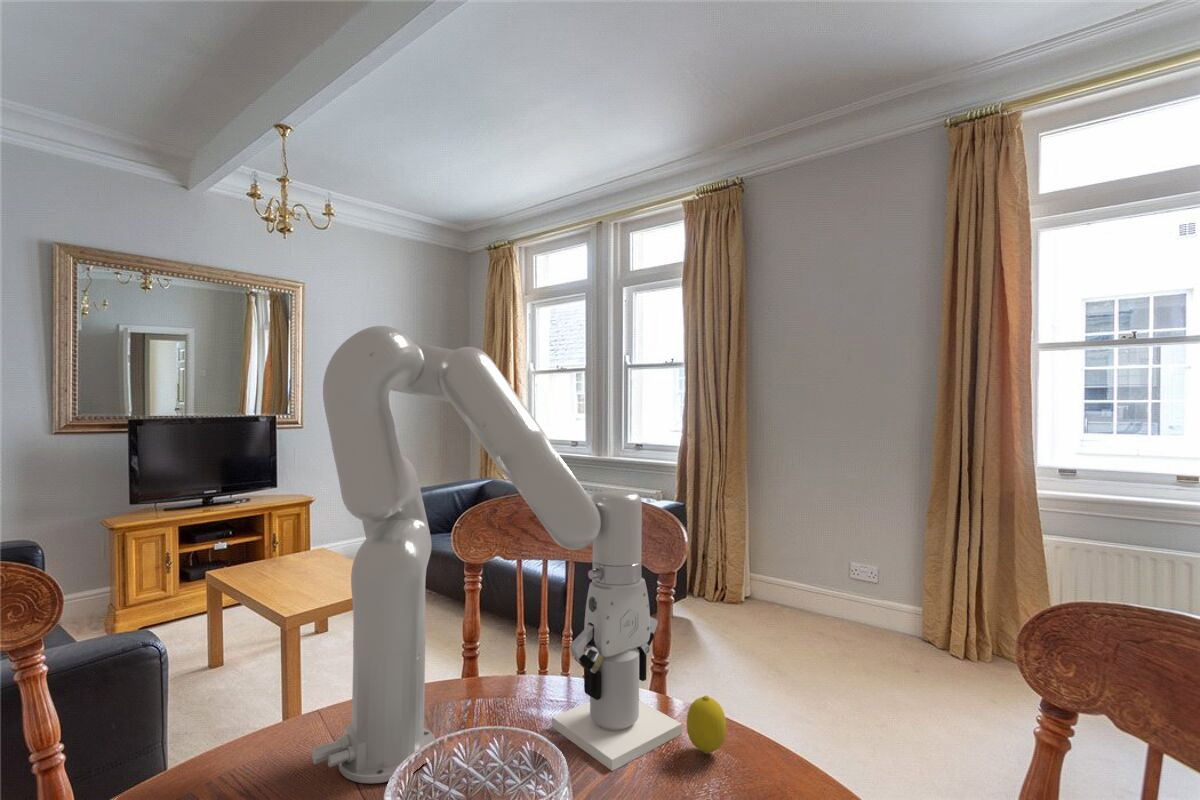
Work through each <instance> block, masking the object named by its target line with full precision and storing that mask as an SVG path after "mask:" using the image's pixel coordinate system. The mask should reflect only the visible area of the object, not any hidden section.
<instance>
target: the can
mask: <svg viewBox="0 0 1200 800" xmlns="http://www.w3.org/2000/svg"><path fill="white" fill-rule="evenodd" d="M631 648H632V647H629V648H626V649H624V650H628V649H631ZM596 654H597V653H595V652H594V654H593V657H592V659H591V660H592V661H593V660H594V658H595V656H596ZM598 671H600V672H601V698H600V699H599V700H596V699H594V698H592V697H591V696H589V700H590V717H591V719H592V720H593V721H594V722H595V723H596V724H597V725H598V726H599V727H601V728H603V729H606V730H611V731H619V730H624V729H627V728H629V727H630V726H632V724H633V723H634V722H636V721H637V719H638V717H639V700H640V680H639V650H638V649H637V648H635V649H631V650H628V651H625V652H623V653H621V654H618V655H615V656H612V657H604V658H603V661H602V663H601V665H600V667H599V669H598Z"/></svg>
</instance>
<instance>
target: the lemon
mask: <svg viewBox="0 0 1200 800" xmlns="http://www.w3.org/2000/svg"><path fill="white" fill-rule="evenodd" d="M686 732H687V734H688V738H689V740H690V742H691V743H692V745H693V746H694V747H695V748H696V749H698V750H699V751H702V752H703V753H704V754H706V755H708V754H710V753H711V752H712V753H713V752H714V751H717V750H718V749H720V748H721V746H722V745H723V743H724V742H725V739H726V736H727V735H726V734H727V720H726V716H725V712H724V710H723V707H722V706H721V705H720V703H719V702H718V701H717V700H715V699H714V698H712V697H710V696H709V695H703V696H700V697H698V698H696V699H695V700H694V701H693V702H692V703H691V704H690V706H689V708H688V712H687V715H686Z"/></svg>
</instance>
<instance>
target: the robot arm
mask: <svg viewBox="0 0 1200 800" xmlns="http://www.w3.org/2000/svg"><path fill="white" fill-rule="evenodd" d="M322 383H323V384H322V399H323V408H324V413H325V417H326V421H327V427H328V432H329V435H330V442H331V443H330V444H331V449H332V452H333V459H334V461H335V462H334V463H335V467H336V473H337V477H338V482H339V488H340V494H341V498H342V502H343V505H344V506H345V509H346V510H347V511H348V512H349V514H351V515H352V516H354V518H356V519H358V520H361V523H362V526H363V530H364V534H365V535H364V536H365V540H363V542H362V544H361V545H360V546H359V548H358V549H357V552H356V553H355V554H356V555H355V556H354V559H353V563H352V568H351V573H350V574H351V575H350V576H351V577H350V586H351V587H350V588H351V599H352V617H353V618H352V620H353V622H352V623H353V626H352V629H353V634H352V635H353V636H352V637H353V639H352V644H353V645H352V650H353V652H352V695H351V696H352V697H351V698H352V699H351V703H352V704H351V708H352V709H351V724H349V725H346V726H345V727H344V735H341V736H338V738H337V739H336V740H335V741H332V742H329V743H324V744H321V745H318V746H315V747H313V748H312V752H311V753H312V755H311V756H312V762H313V764H314V765H316V764H320V763H323V762H325V761H327V765H328V768H332V767H335V766H338V771H339V772H340V773H341V775H342V776H343V777H345V778H346V779H348V780H350V781H353V782H355V783H360V784H382V783H387V781H388V779H389V778H390V776H391V775H392V773H393V772H394V771H395V769H396V767H397V766H398V765H399V764H400V763H401V762H402V761H403V760H405V759H406V758H407V757H408V756H409V755H411V754H412V753H413V752H415V751H416V750H418V749H419V748H421V747H422V746H424V745H426V744H428V743H430V742H432V741H434V740H435V741H436V739H435V736H434V734H433V732H432V731H430V730H429V729H428V728H426V727H425V687H426V685H425V684H426V679H425V677H426V674H425V673H426V576H427V569H428V568H427V567H428V564H429V561H430V558H431V554H432V546H433V544H432V537H431V533H430V532H431V530H430V526H429V523H428V522H429V521H428V518H427V513H426V508H425V503H424V499H423V494H422V490H421V486H420V482H419V481H420V480H419V477H418V473H417V471H416V469H415V467H414V465H413V464H412V462H411V461H410V460H409V459H408V458H407V457H406V456H404V455H402V454H401V453H402V452H401V450H400V447H399V442H398V438H397V434H396V433H397V432H396V427H395V421H394V417H393V414H392V411H391V406H390V393H391V391H394V392H398V393H403V394H409V395H414V396H418V397H422V398H427V399H432V400H438V401H441V402H442V401H443V402H448V403H451V405H452V406H453V407H454V409H455V411H456V412H457V414H459V416H460V417H461V418H462V420H463V421H464V422H465V424H466V425H467V427H468V428H469V430H470V431H471V432H472V433H473V435H474V436H475V437H476V439H477V440H478V442H479V444H480V445H481V446H482V448H483V449H484V450H485V451H486V453H487V454H488V456H489V457H490V459H491V460H492V461H493V462H494V464H495V465H496V467H497V468H498V469H499V471H501V472H502V474H503V475H504V476H506V478H507V479H509V481H510V483H512V485H513V486H514V487H515V489H516V490H517V491H518V493H519V494H520V495H521V497H522V498H523V500H524V501H525V503H526V504H527V505H528V506H529V508H530V509H531V511H532V512H533V514H534V515H535V516H536V517H537V519H538V520H539V522H540V524H542V525H543V527H544V528H545V530H546V532H547V533H548V535H549V536H550V537H551V538H552V540H553V542H555V543H556V544H557V545H559V546H560V547H562V548H564V549H565V550H566V549H567V550H573V551H576V550H582V549H585V548H587V547H588V546H591V545H592V569H590V570H589V571H588V572H587V577H588V578H589V580H592V581H591V582H590V583H589V587H588V592H587V596H586V603H585V611H584V612H585V614H584V615H585V616H584V629H583V630H582V631H581V633H580V634H578V636H577V637H575V639H574V640H572V642H571V643H570V645H569V649H570V651H571V653H572V655H573V657H574V660H575V662H577V663H578V664H580V667H581V668H583V669H584V671H583V690H584V691H583V692H584V693H585V694H586V695H588V696H589V697H590V696H591V697H592V698H594V699H596V700H599V699H600V698H601V672H600V671H598V669H599V667H600V665H601V663H602V661H603V658H604V657H612V656H615V655H618V654H621V653H623V652H625V651H628V650H631V649H635V648H637V649H638V650H639V681H641V682H645V681H647V654H649V653H650V650H651V648H650V646H651V643H652V642H653V640H654V638H655V634H654V633H655V632H656V630H657V627H658V624H659V621H658V620H657V618H655V617H652V616H651V614H650V612H651V611H650V602H649V595H648V594H649V593H648V588H647V584H646V580H645V578H643V577H642V548H643V547H642V546H643V545H642V543H643V541H642V535H643V534H642V532H643V531H642V530H643V529H642V528H643V526H642V525H643V524H642V523H643V521H642V520H643V519H642V517H643V515H642V514H643V510H642V509H643V505H642V501H643V500H642V498H641V496H640V495H639V494H638V493H637V492H634V491H630V490H623V489H617V490H616V489H615V490H614V489H613V490H611V489H610V490H602V491H600V492H599V491H589V490H585V489H584V487H583V486H582V485H581V483H580V481H579V480H578V479H577V477H576V476H575V475H574V473H573V472H572V470H571V469H570V468H569V466H568V465H567V463H565V461H564V459H563V458H562V457H561V455H560V454H559V452H558V451H557V450H556V448H555V447H554V446H553V444H552V443H551V441H550V440H549V437H548V436H547V434H545V432H544V430H543V429H542V428H541V426H540V425H539V423H538V422H537V420H536V419H535V417H534V416H533V415H532V414H531V413H530V410H529V409H528V408H527V407H526V405H525V404H524V403H523V401H522V400H521V399H520V397H519V395H518V394H517V393H516V392H515V390H514V389H513V387H512V386H511V385H510V383H509V382H508V380H507V379H506V377H505V376H504V375H503V373H502V372H501V370H500V369H499V367H498V366H497V365H496V364H495V362H494V361H493V360H492V358H491V357H490V356H489V355H488V354H487V353H486V352H485V351H483V350H481V349H479V348H477V347H473V346H462V347H459V348H456V349H449V348H445V347H439V346H435V345H432V344H428V343H427V344H426V343H424V342H418V341H416V340H411V338H410V337H409V336H408V335H407V334H406V333H404V332H402V331H401V330H399V329H397V328H394V327H391V326H387V325H375V326H374V325H373V326H371V327H366V328H363V329H361V330H360V331H357V332H356V333H355V334H353V335H351V336H350V337H348V338H347V339H346V340H345V341H344V342H343V343H342V344H341V345H340V346H338V348H337V349H336V350H335V352H334V353H333V354H332V356H331V358H330V360H329V362H328V364H327V366H326V369H325V372H324V376H323V382H322ZM629 647H632V648H631V649H628V650H624V649H626V648H629ZM585 648H586V650H585ZM594 652H595V653H597V654H596V656H595V658H594V660H593V661H592V660H591V659H592V657H593V654H594ZM388 782H389V781H388Z"/></svg>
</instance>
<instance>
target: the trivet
mask: <svg viewBox="0 0 1200 800" xmlns="http://www.w3.org/2000/svg"><path fill="white" fill-rule="evenodd" d="M551 728H553V729H554V730H555V731H557V732H558V733H559V734H561V735H562V736H564V737H565V738H567V739H568V740H570V741H571V742H572V743H573V744H574V745H576V746H577V747H579V748H580V749H581V750H583V752H586V753H587V754H588V755H589V756H591V757H592V758H594V759H595V760H596V761H598V762H599V763H601V764H602V765H603V766H604V767H606V768H607V769H609V770H610V771H612V772H613V771H615V770H617V769H619V768H621V767H622V766H624V765H626V764H628V763H630V762H632V761H634V760H636V759H638V758H639V757H642V756H643V755H645V754H647V753H649V752H651V751H653V750H655V749H656V748H658V747H660V746H662V745H663V744H666V743H667V742H670V741H671V740H673V739H675V738H677V737H679V736H681V735H682V733H683V723H681V722H680V721H678V720H676V719H674V718H672V717H670V716H668V715H667V714H665V713H664V712H661V711H659V710H658V709H656V708H654V707H652V706H651V705H649V704H647V703H645V702H644V701H642V700H640V699H639V717H638V719H637V721H636V722H634V723H633V724H632V726H630V727H629V728H627V729H624V730H619V731H611V730H606V729H603V728H601V727H599V726H598V725H597V724H596V723H595V722H594V721H593V720H592V719H591V717H590V701H588V702H585V703H583V704H582V703H581V704H580V705H578V706H575V707H573V708H570V709H568V710H565V711H563V712H561V713H559V714H556V715H554V716H552V717H551Z"/></svg>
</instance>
